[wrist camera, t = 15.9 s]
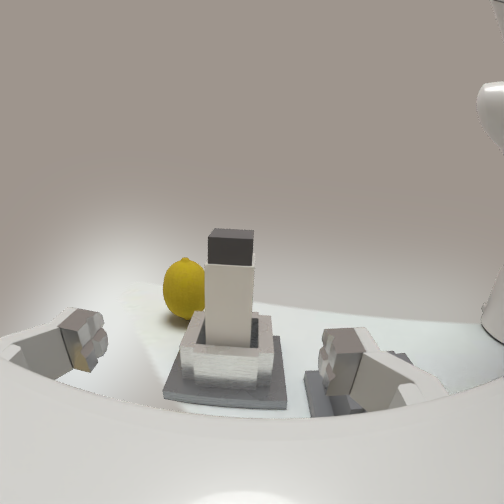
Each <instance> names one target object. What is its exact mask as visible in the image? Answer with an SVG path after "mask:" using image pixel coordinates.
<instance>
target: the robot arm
mask: <svg viewBox="0 0 504 504" xmlns="http://www.w3.org/2000/svg"><path fill="white" fill-rule="evenodd" d="M489 1H490V3H491V6H492V8H493V11H494V14H495V17H496V20H497V23H498V26H499V29H500V33H501V36H502V40H503V42H504V0H489ZM476 106H477V114H478V118H479V121H480V124H481V126H482V128H483V130H484V131H485V133H486V134H487V136H488V137H489V138H490V139H491V140H492V141H493V142H494V143H495V144H496V145H497V146H498V147H499V149H500V150H501V152H502V153H503V155H504V82H493V83H486V84H484V85H483V86H482V87H481V89H480V91H479V93H478V96H477V103H476ZM481 309H482V311H483V314H482V317H481V323H482V325H483V326H484V328H485V329H486V330H487V331H488V332H489V333H490V334H491V335H492V336H493V337H495V338H496V339H497V340H499V341H500V342H502V343H504V265H503V266H502V267H501V268H500V269H499V272H498V274H497V277H496V280H495V283H494V286H493V288H492V291H491V294H490V296H489V299H488V301H487V303H483V306H482V308H481ZM103 325H104V320H103V316H102V315H101V314H100V313H99V312H93V311H89V310H83V309H79V308H73V307H67V308H66V309H65V310H64V311H63V312H61V313H60V314H59V315H58V316H56V317H55V318H54V319H53V320H52V321H51V322H49V323H48V324H42V325H39V326H36V327H32V328H29V329H26V330H23V331H19V332H16V333H13V334H9V335H6V336H3V337H0V504H504V376H503V377H501V378H498V379H496V380H493V381H491V382H488V383H485V384H483V385H480V386H477V387H474V388H471V389H468V390H465V391H462V392H459V393H455V394H452V395H449V393H448V392H447V390H446V389H445V388H444V386H443V385H442V383H441V382H440V381H439V379H438V378H437V377H436V376H434V375H432V374H430V373H428V372H426V371H424V370H422V369H420V368H418V367H416V366H414V365H412V364H410V363H408V362H406V361H404V360H402V359H400V358H398V357H396V356H394V355H392V354H390V353H388V352H386V351H381V350H380V348H379V347H378V345H377V344H376V342H375V340H374V339H373V337H372V336H371V334H370V333H369V331H368V329H367V328H365V327H357V328H339V329H324V332H323V336H322V342H323V345H324V346H323V347H322V348H321V349H320V351H319V357H318V368H319V373H320V375H321V376H322V377H324V378H323V382H322V384H323V388H324V391H325V395H326V396H339V395H349V396H350V397H351V398H352V399H353V400H355V401H356V402H357V403H358V404H359V405H360V406H361V407H363V408H364V409H365V410H366V411H367V413H359V414H351V415H342V416H330V417H316V418H288V419H266V418H239V417H224V416H213V415H203V414H194V413H186V412H179V411H172V410H166V409H160V408H155V407H149V406H144V405H140V404H135V403H130V402H126V401H122V400H118V399H114V398H110V397H106V396H102V395H98V394H95V393H92V392H88V391H85V390H82V389H78V388H76V387H72V386H70V385H67V384H64V383H61V382H58V381H55V379H57V378H59V377H61V376H62V375H64V374H66V373H67V372H69V371H71V370H73V368H74V369H77V370H81V371H85V372H90V373H91V371H92V370H93V369H94V367H95V366H96V364H97V363H98V360H97V358H99V357H101V356H103V355H104V354H105V352H106V350H107V346H108V337H107V333H106V332H105V331H104V329H103V328H102V327H103Z"/></svg>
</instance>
